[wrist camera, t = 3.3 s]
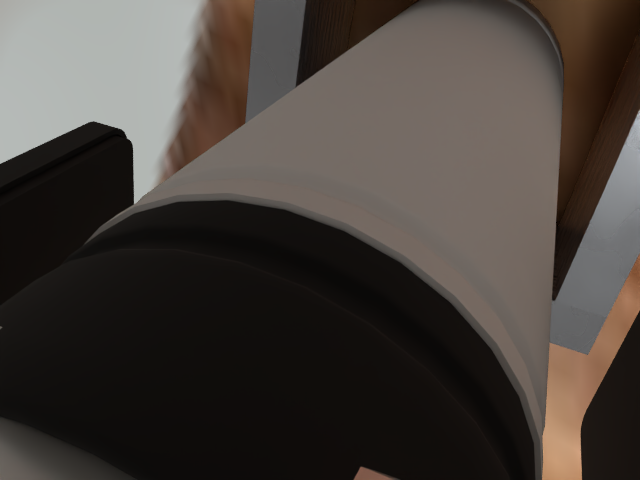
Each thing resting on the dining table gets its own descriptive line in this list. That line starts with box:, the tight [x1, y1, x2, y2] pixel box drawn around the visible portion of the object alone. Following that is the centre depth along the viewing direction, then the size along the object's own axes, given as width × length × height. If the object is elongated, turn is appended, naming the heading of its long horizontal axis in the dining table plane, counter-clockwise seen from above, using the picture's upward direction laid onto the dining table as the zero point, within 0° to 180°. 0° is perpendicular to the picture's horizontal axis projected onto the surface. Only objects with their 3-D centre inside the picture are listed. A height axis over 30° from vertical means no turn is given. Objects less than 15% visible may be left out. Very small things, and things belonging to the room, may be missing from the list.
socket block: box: [245, 0, 640, 355], centre depth 19 cm, size 12×12×5 cm
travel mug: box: [0, 0, 564, 480], centre depth 13 cm, size 6×7×20 cm
